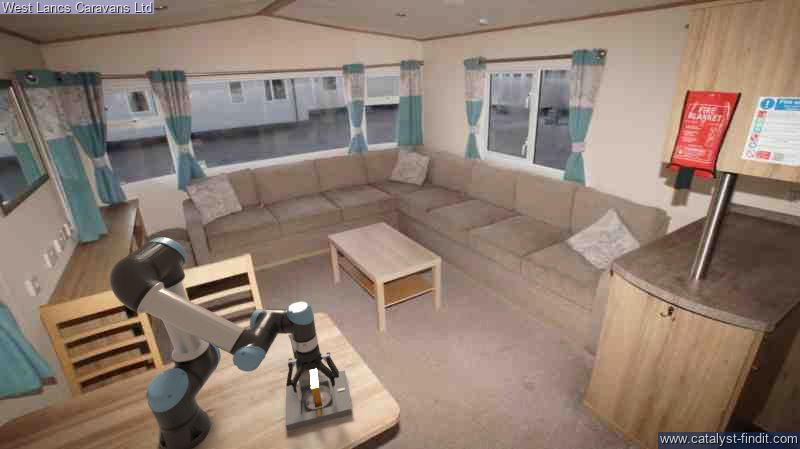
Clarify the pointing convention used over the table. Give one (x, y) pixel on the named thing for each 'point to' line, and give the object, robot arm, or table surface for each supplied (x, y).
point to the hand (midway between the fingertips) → (316, 394)
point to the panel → (302, 416)
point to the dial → (317, 394)
